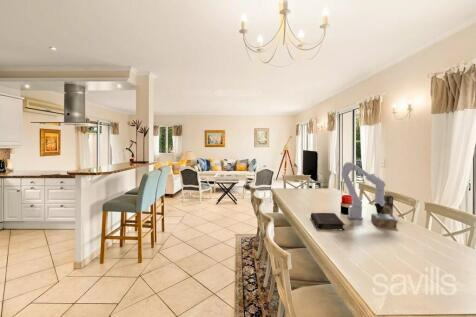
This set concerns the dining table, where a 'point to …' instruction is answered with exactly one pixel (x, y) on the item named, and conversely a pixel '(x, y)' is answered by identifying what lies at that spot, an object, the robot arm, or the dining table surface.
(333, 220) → the diary
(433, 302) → the dining table surface
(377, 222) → the wooden box
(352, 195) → the robot arm
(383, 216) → the cover plate
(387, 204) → the coffee box
